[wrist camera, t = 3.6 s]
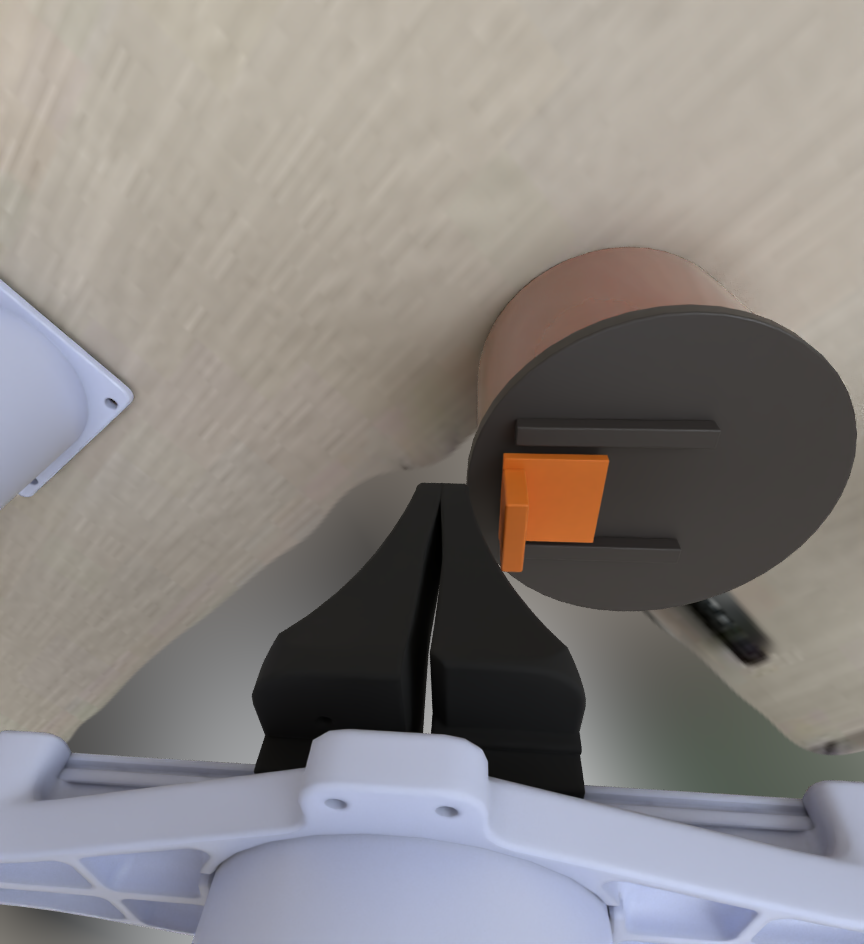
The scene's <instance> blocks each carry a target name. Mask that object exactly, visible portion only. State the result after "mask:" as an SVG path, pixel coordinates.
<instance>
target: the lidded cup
mask: <svg viewBox="0 0 864 944" xmlns="http://www.w3.org/2000/svg"><path fill="white" fill-rule="evenodd" d="M856 439H857V431H856V421H855V412H854V409H853V406H852V403H851V400H850V396H849V393H848V391H847V389H846V387H845V385H844V384H843V382H842V380H841V378H840V376H839V375H838V373H837V372H836V371H835V369H834V368H833V367H832V366H831V365H830V364H829V362H828V361H827V360H826V359H825V358H824V357H823V355H822V354H820V353H819V352H818V351H817V350H815V349H814V348H813V347H812V346H811V345H809V344H808V343H807V342H806V341H804V340H803V339H802V338H801V337H799V336H798V335H797V334H796V333H794V332H792V331H790V330H789V329H787V328H785V327H783V326H781V325H780V324H778V323H776V322H774V321H772V320H769V319H767V318H764V317H761V316H758V315H755V314H753V313H752V312H751V311H750V310H749V309H748V308H747V307H745V306H744V305H743V304H742V303H741V302H740V301H739V300H738V299H736V298H735V297H734V296H733V295H732V294H731V293H730V292H729V291H727V290H726V289H725V288H724V287H723V286H722V285H721V284H719V283H718V282H717V281H716V280H715V279H714V278H713V277H711V276H710V275H709V274H708V273H706V272H705V271H704V270H703V269H701V268H700V267H699V266H697V265H695V264H693V263H692V262H690V261H688V260H686V259H684V258H682V257H679V256H677V255H674V254H671V253H668V252H665V251H660V250H655V249H650V248H640V247H619V248H608V249H603V250H598V251H593V252H588V253H586V254H583V255H580V256H577V257H574V258H571V259H568V260H566V261H564V262H562V263H560V264H558V265H556V266H554V267H552V268H550V269H549V270H547V271H546V272H544V273H543V274H541V275H539V276H538V277H536V278H535V279H534V280H532V281H531V282H530V283H529V284H528V285H526V286H525V287H524V288H523V289H522V290H520V291H519V292H518V294H517V295H516V296H515V297H514V298H513V299H512V300H511V301H510V302H509V303H508V304H507V306H506V307H505V308H504V310H503V311H502V312H501V314H500V315H499V316H498V318H497V319H496V321H495V323H494V325H493V327H492V328H491V330H490V332H489V334H488V337H487V339H486V342H485V344H484V347H483V350H482V354H481V358H480V362H479V370H478V390H477V432H476V434H475V437H474V439H473V443H472V447H471V451H470V455H469V459H468V470H467V486H468V487H469V495H470V500H471V504H472V507H473V511H474V514H475V517H476V519H477V522H478V524H479V527H480V529H481V532H482V534H483V536H484V539H485V541H486V543H487V545H488V547H489V549H490V551H491V553H492V554H493V556H494V558H495V560H496V562H497V563H498V564H499V565H500V566H501V563H500V540H499V535H498V533H499V517H500V500H501V484H502V467H503V454H504V453H529V454H584V455H607V456H608V459H609V465H608V470H607V475H606V480H605V485H604V490H603V495H602V500H601V505H600V510H599V515H598V520H597V525H596V530H595V535H594V540H593V543H581V542H548V541H526V542H525V552H524V562H523V570H522V572H508V573H509V574H510V575H511V576H513V577H514V578H516V579H517V580H518V581H520V582H521V583H523V584H524V585H526V586H527V587H529V588H531V589H534V590H535V591H537V592H539V593H541V594H543V595H546V596H548V597H551V598H553V599H556V600H558V601H561V602H565V603H569V604H573V605H576V606H581V607H586V608H592V609H598V610H610V611H646V610H657V609H664V608H670V607H676V606H682V605H686V604H690V603H694V602H698V601H702V600H705V599H708V598H711V597H714V596H717V595H719V594H722V593H725V592H727V591H730V590H732V589H734V588H736V587H739V586H741V585H743V584H745V583H747V582H749V581H751V580H753V579H755V578H756V577H758V576H760V575H762V574H764V573H765V572H767V571H768V570H770V569H771V568H773V567H774V566H776V565H777V564H779V563H780V562H782V561H783V560H785V559H786V558H787V557H788V556H789V555H791V554H792V553H793V552H794V551H796V550H797V549H798V548H799V547H801V546H802V545H803V544H804V543H805V542H806V541H807V540H808V539H809V538H810V537H811V536H812V535H813V534H814V533H815V532H816V531H817V529H818V528H819V527H820V526H821V524H822V523H823V522H824V521H825V519H826V518H827V517H828V516H829V514H830V513H831V511H832V510H833V508H834V506H835V505H836V503H837V501H838V500H839V498H840V497H841V495H842V492H843V490H844V488H845V486H846V483H847V481H848V479H849V476H850V473H851V469H852V465H853V462H854V458H855V451H856Z"/></svg>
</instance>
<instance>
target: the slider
mask: <svg viewBox="0 0 864 944" xmlns="http://www.w3.org/2000/svg"><path fill="white" fill-rule="evenodd" d="M608 465H609V459H608V456H607V455H584V454H529V453H504V454H503V467H502V484H501V500H500V517H499V533H498V535H499V540H500V563H501V570H502V571H504V572H522V570H523V562H524V552H525V542H526V541H548V542H581V543H593V540H594V535H595V530H596V525H597V520H598V515H599V510H600V505H601V500H602V495H603V490H604V485H605V480H606V475H607V470H608Z"/></svg>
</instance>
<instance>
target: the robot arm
mask: <svg viewBox="0 0 864 944" xmlns="http://www.w3.org/2000/svg"><path fill="white" fill-rule="evenodd" d="M110 399H113V400H115V402H116V403H117V404H114V403H113V402H112V401H111V400H110ZM133 399H134V395H133V393H132V391H131V390H130V389H129V388H128V387H127V386H126V385H125V384H124V383H122V382H121V381H120V380H119V379H118V378H117V377H115V376H114V375H113V374H112V373H111V372H109V371H108V370H107V369H106V368H105V367H104V366H102V365H101V364H100V363H99V362H98V361H96V360H95V359H94V358H93V357H92V356H91V355H89V354H88V353H87V352H86V351H85V350H83V349H82V348H81V347H80V346H79V345H78V344H76V343H75V342H74V341H73V340H72V339H70V338H69V337H68V336H67V335H66V334H65V333H63V332H62V331H61V330H60V329H59V328H57V327H56V326H55V325H54V324H53V323H52V322H50V321H49V320H48V319H47V318H46V317H44V316H43V315H42V314H41V313H40V312H39V311H37V310H36V309H35V308H34V307H33V306H31V305H30V304H29V303H28V302H27V301H26V300H24V299H23V298H22V297H21V296H20V295H18V294H17V293H16V292H15V291H14V290H13V289H11V288H10V287H9V286H8V285H7V284H5V283H4V282H3V281H2V280H1V279H0V510H1V509H2V508H3V507H4V506H5V505H6V504H7V503H9V502H10V501H11V500H12V499H13V498H14V497H15V496H16V495H17V494H19V495H20V496H23V497H31V496H33V495H34V494H35V493H36V492H37V491H38V490H39V489H40V488H41V487H42V486H43V485H44V484H45V483H46V482H47V481H48V480H50V479H51V478H52V477H53V476H54V475H55V474H56V473H57V472H58V471H59V470H60V469H61V468H62V467H63V466H64V465H65V464H67V463H68V462H69V461H70V460H71V459H72V458H73V457H74V456H75V455H76V454H77V453H78V452H79V451H80V450H81V449H83V448H84V447H85V446H86V445H87V444H88V443H89V442H90V441H91V440H92V439H93V438H94V437H95V436H96V435H97V434H98V433H100V432H101V431H102V430H103V429H104V428H105V427H106V426H107V425H108V424H109V423H110V422H111V421H112V420H113V419H114V418H115V417H117V416H118V415H119V414H120V413H121V412H122V411H123V410H124V409H125V408H126V407H127V406H128V405H129V404H130V403H131V402H132V401H133ZM439 585H440V586H439ZM438 591H439V594H438ZM437 596H438V603H437V610H436V617H435V625H434V631H433V637H432V643H431V649H430V664H431V687H432V709H433V715H432V728H431V734H427V733H423V725H424V708H425V693H426V679H427V666H428V653H429V644H430V636H431V631H432V625H433V620H434V613H435V608H436V602H437ZM252 700H253V705H254V707H255V710H256V712H257V715H258V718H259V720H260V723H261V725H262V728H263V731H264V733H265V738H264V741H263V744H262V747H261V750H260V753H259V756H258V759H257V762H256V764H241V763H225V762H210V761H194V760H193V761H192V760H178V759H162V758H146V757H130V756H115V755H99V754H83V753H71V750H70V748H69V746H68V745H67V743H66V742H65V741H64V740H63V739H62V738H60V737H58V736H56V735H54V734H50V733H45V732H28V731H12V730H5V731H1V732H0V904H4V905H14V906H23V907H30V908H37V909H45V910H53V911H59V912H65V913H71V914H77V915H82V916H89V917H94V918H100V919H105V920H110V921H116V922H121V923H126V924H132V925H137V926H143V927H148V928H153V929H159V930H164V931H169V932H175V933H180V934H186V935H191V936H194V939H193V942H192V944H864V782H855V781H838V780H828V781H821V782H817V783H814V784H813V785H812V786H810V787H809V788H808V789H807V791H806V793H805V794H804V796H803V799H795V798H780V797H764V796H748V795H732V794H716V793H700V792H685V791H669V790H653V789H637V788H620V787H605V786H590V785H589V786H588V785H584V780H583V773H582V766H581V759H580V755H581V752H582V749H581V740H580V733H579V731H580V727H581V723H582V719H583V715H584V711H585V706H586V705H585V704H586V703H585V702H586V699H585V693H584V688H583V685H582V682H581V678H580V676H579V673H578V670H577V668H576V665H575V663H574V660H573V658H572V656H571V654H570V652H569V650H568V648H567V647H566V646H565V645H564V644H563V643H562V642H561V641H560V640H559V639H558V638H557V637H556V636H555V635H554V634H553V633H552V632H551V631H550V630H549V629H547V628H546V626H545V625H544V624H543V623H542V622H541V621H540V620H539V619H538V618H537V617H536V616H535V614H534V613H533V612H532V611H531V610H530V608H529V607H528V606H527V605H526V604H525V602H524V601H523V600H522V599H521V597H520V596H519V595H518V594H517V592H516V591H515V590H514V588H513V587H512V585H511V584H510V583H509V581H508V580H507V578H506V576H505V575H504V573H503V572H502V570H501V569H500V567H499V565H498V563H497V562H496V560H495V558H494V556H493V554H492V553H491V551H490V549H489V547H488V545H487V543H486V541H485V539H484V536H483V534H482V532H481V529H480V527H479V524H478V522H477V519H476V517H475V514H474V511H473V507H472V504H471V500H470V495H469V487H468V486H467V485H466V484H450V483H421V484H419V485H418V486H417V488H416V491H415V493H414V495H413V497H412V499H411V501H410V503H409V504H408V506H407V508H406V510H405V512H404V513H403V515H402V516H401V518H400V519H399V521H398V523H397V524H396V525H395V527H394V529H393V530H392V532H391V533H390V534H389V536H388V537H387V538H386V540H385V541H384V542H383V544H382V545H381V546H380V548H379V549H378V550H377V551H376V553H375V554H374V555H373V556H372V557H371V559H370V560H369V561H368V562H367V563H366V564H365V565H364V566H363V568H362V569H361V570H360V571H359V572H358V573H357V574H356V575H355V576H354V577H353V578H352V579H351V580H350V581H349V582H348V583H347V584H346V585H345V586H343V587H342V588H341V589H340V590H339V591H338V592H337V593H336V594H334V595H333V596H332V597H331V598H330V599H328V600H327V601H326V602H324V603H323V604H322V605H321V606H319V607H318V608H317V609H316V610H314V611H313V612H312V613H310V614H309V615H308V616H306V617H305V618H303V619H302V620H300V621H299V622H297V623H295V624H294V625H292V626H291V627H289V628H288V629H286V630H284V631H283V632H281V633H279V635H278V636H277V638H276V640H275V641H274V643H273V645H272V647H271V648H270V650H269V653H268V655H267V656H266V658H265V660H264V662H263V665H262V667H261V670H260V673H259V676H258V678H257V681H256V685H255V688H254V690H253V693H252Z"/></svg>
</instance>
